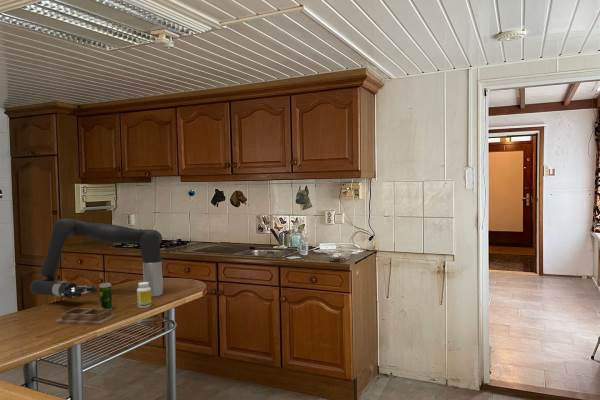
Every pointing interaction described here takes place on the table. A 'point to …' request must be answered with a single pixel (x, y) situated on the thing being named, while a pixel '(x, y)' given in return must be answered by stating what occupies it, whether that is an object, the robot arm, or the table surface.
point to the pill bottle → (143, 295)
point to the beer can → (105, 296)
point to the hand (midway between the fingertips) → (88, 292)
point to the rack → (86, 316)
